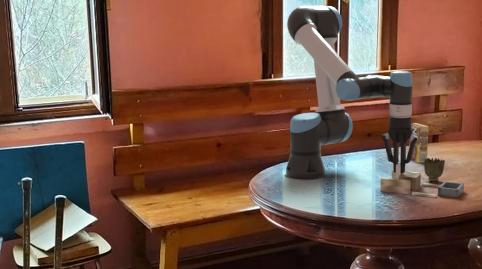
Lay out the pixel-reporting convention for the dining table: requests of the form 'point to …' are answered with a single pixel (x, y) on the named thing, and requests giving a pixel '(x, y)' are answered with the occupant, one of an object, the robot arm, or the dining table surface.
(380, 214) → the dining table surface
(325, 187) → the dining table surface
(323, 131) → the robot arm
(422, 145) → the candy box
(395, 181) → the twin plank rail frame
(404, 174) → the block
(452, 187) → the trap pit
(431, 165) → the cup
